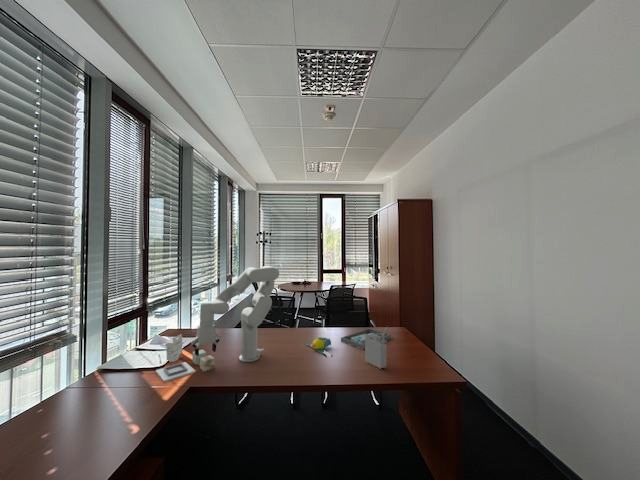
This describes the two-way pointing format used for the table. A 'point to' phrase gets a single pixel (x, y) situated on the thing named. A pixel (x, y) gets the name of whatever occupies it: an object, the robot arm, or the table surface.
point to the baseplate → (175, 371)
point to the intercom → (361, 338)
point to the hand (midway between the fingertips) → (205, 353)
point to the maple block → (207, 363)
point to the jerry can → (375, 349)
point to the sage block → (197, 358)
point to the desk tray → (346, 338)
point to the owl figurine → (320, 344)
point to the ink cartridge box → (174, 349)
